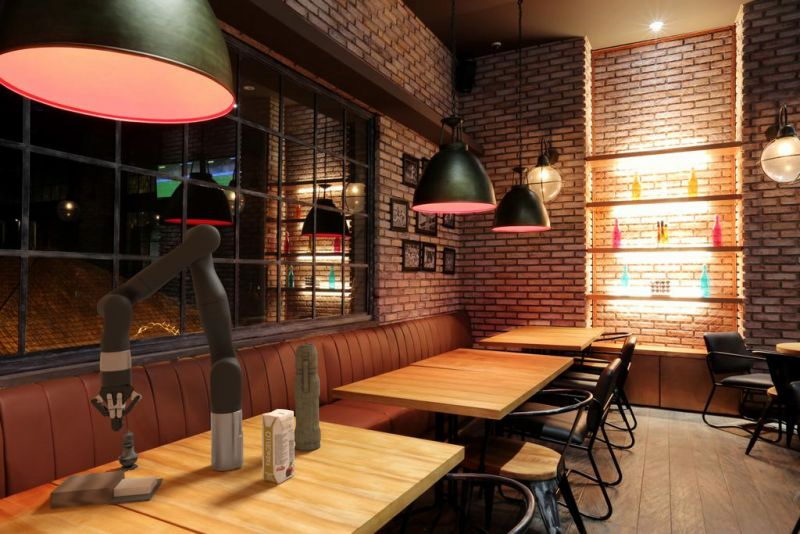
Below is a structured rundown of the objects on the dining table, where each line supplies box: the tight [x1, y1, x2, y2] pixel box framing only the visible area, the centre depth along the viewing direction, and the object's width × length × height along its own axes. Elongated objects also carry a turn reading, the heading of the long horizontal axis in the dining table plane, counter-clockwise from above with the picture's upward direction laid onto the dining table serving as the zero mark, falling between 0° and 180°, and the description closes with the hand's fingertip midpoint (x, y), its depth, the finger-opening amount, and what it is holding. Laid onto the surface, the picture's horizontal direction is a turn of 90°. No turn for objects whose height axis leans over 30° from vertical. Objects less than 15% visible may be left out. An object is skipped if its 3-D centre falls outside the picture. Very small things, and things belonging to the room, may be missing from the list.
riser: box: [49, 470, 126, 510], centre depth 139 cm, size 14×12×4 cm
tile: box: [114, 475, 158, 497], centre depth 142 cm, size 9×7×2 cm
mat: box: [108, 477, 164, 505], centre depth 142 cm, size 10×14×1 cm
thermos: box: [293, 343, 322, 453], centre depth 176 cm, size 9×12×35 cm
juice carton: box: [261, 408, 296, 484], centre depth 150 cm, size 8×9×19 cm
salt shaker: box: [117, 429, 140, 472], centre depth 160 cm, size 6×6×12 cm
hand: (117, 430), depth 141 cm, fingers closed
